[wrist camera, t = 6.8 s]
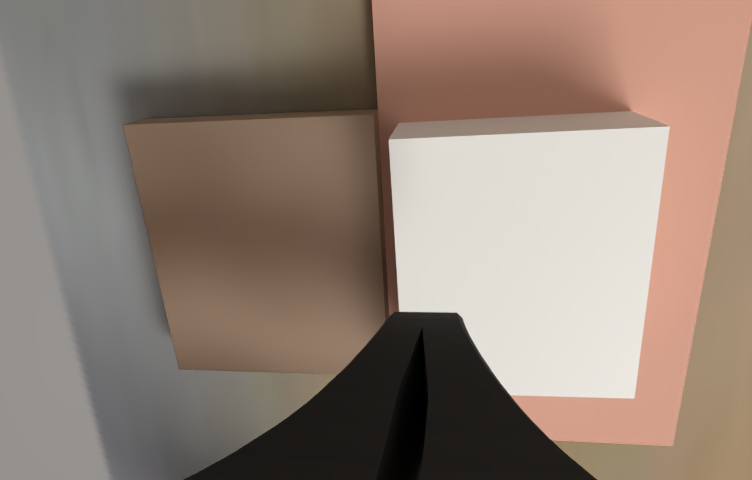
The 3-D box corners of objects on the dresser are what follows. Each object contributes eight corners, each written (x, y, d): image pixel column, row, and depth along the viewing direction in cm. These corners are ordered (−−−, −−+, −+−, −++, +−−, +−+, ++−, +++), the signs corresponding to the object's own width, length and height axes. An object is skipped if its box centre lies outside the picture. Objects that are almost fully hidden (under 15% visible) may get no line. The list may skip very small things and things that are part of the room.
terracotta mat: (669, 439, 17) (672, 446, 17) (396, 426, 18) (395, 432, 18) (756, -41, 12) (763, -42, 12) (372, -11, 13) (371, -12, 13)
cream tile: (607, 345, 16) (634, 398, 13) (410, 343, 17) (404, 392, 14) (632, 110, 13) (669, 126, 11) (398, 122, 14) (388, 139, 12)
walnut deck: (392, 354, 17) (388, 375, 16) (195, 349, 18) (178, 369, 17) (379, 108, 14) (373, 114, 13) (146, 118, 15) (122, 124, 14)
